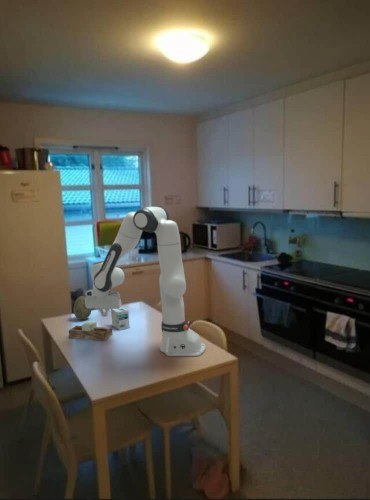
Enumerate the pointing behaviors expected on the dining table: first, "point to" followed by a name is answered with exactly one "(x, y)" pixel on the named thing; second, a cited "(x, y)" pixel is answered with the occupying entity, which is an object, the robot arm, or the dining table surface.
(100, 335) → the beam
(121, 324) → the light bulb box
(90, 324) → the block
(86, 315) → the decorative egg
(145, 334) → the dining table surface
